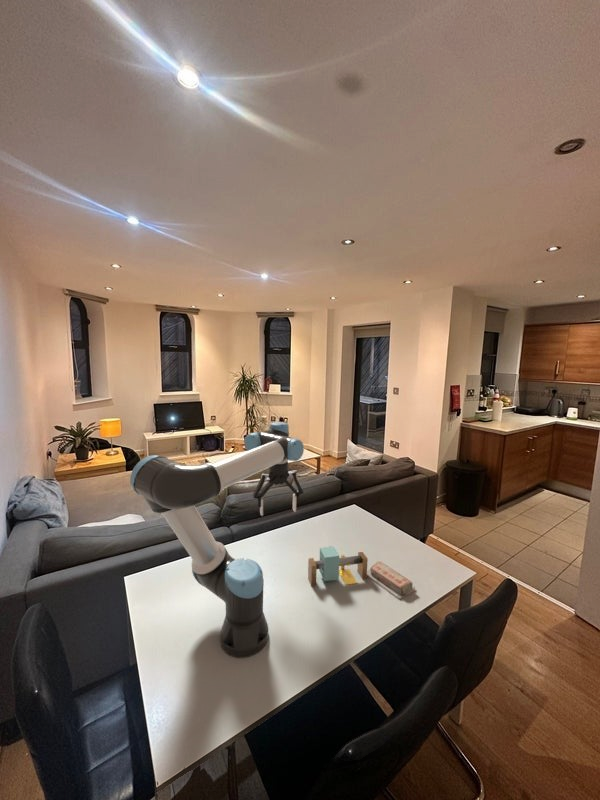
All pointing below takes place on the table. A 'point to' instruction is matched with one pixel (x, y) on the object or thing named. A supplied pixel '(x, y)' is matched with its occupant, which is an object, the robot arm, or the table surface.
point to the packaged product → (390, 580)
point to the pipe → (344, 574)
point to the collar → (329, 563)
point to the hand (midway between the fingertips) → (278, 512)
